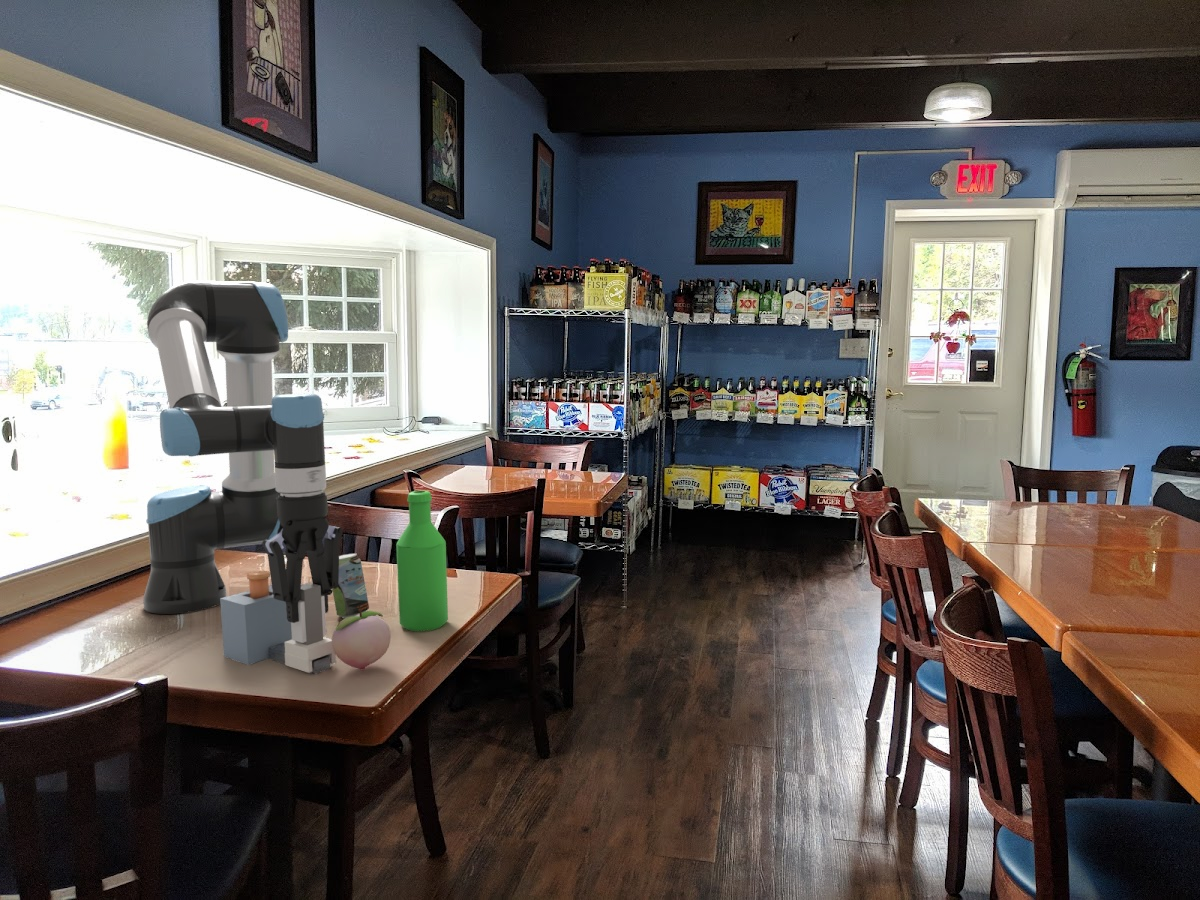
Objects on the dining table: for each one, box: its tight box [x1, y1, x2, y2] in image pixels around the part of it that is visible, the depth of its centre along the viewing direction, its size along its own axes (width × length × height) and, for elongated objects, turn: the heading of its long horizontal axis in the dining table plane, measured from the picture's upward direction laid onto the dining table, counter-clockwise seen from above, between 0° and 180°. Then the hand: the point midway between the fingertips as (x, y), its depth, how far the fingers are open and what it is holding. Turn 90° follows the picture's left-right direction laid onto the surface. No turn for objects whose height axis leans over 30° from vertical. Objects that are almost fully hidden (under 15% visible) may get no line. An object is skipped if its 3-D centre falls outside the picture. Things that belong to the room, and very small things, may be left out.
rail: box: [268, 642, 331, 675], centre depth 139 cm, size 12×3×2 cm, turn 55°
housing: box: [219, 584, 292, 666], centre depth 144 cm, size 7×10×10 cm
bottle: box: [396, 490, 449, 632], centre depth 156 cm, size 9×9×25 cm
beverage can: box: [331, 553, 370, 619], centre depth 163 cm, size 6×7×12 cm
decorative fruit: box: [331, 608, 392, 671], centre depth 136 cm, size 9×8×10 cm
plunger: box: [246, 570, 271, 599], centre depth 144 cm, size 4×4×5 cm
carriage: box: [284, 582, 337, 673], centre depth 137 cm, size 6×5×13 cm
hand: (309, 637), depth 137 cm, fingers closed on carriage, 3 cm apart
